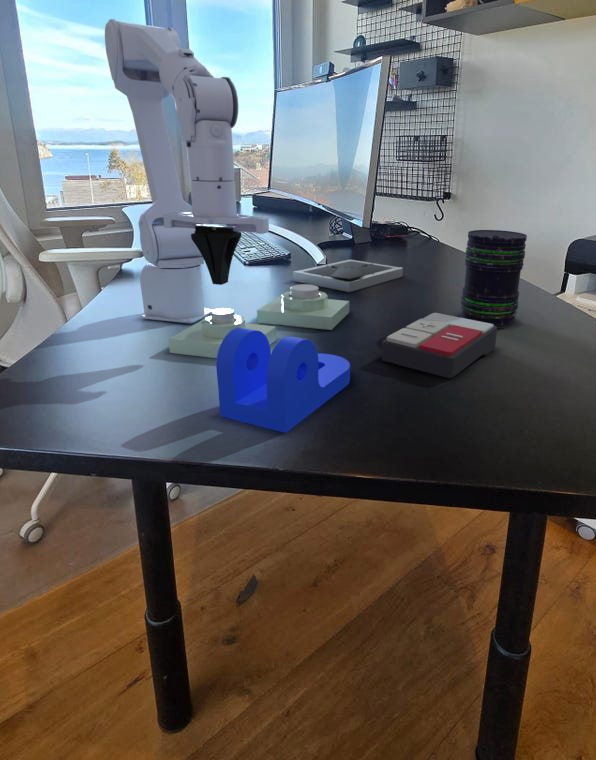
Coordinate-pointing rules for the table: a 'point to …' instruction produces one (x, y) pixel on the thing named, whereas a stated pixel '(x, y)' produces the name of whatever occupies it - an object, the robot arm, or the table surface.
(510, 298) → the storage jar
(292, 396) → the bracket
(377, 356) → the table surface
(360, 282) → the picture frame
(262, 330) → the pale green button base
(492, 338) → the calculator
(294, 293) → the full button
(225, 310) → the half button
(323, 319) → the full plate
